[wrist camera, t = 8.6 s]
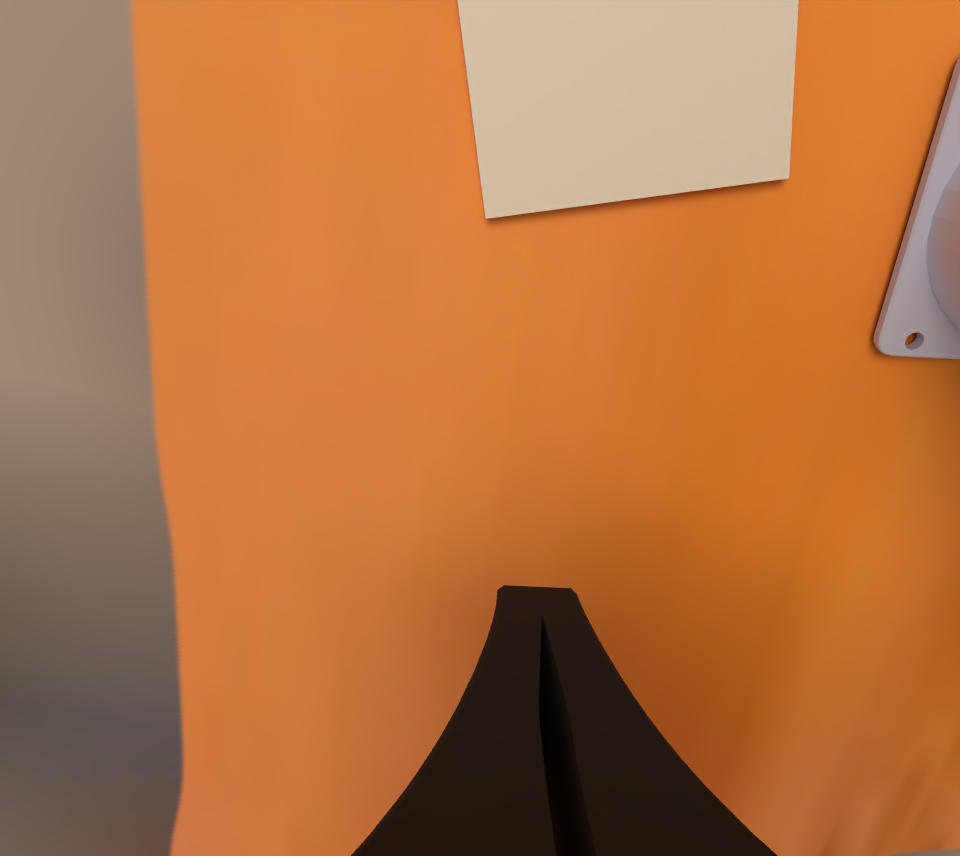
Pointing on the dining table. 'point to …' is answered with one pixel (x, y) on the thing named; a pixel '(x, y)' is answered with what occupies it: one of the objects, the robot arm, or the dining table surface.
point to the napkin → (626, 97)
